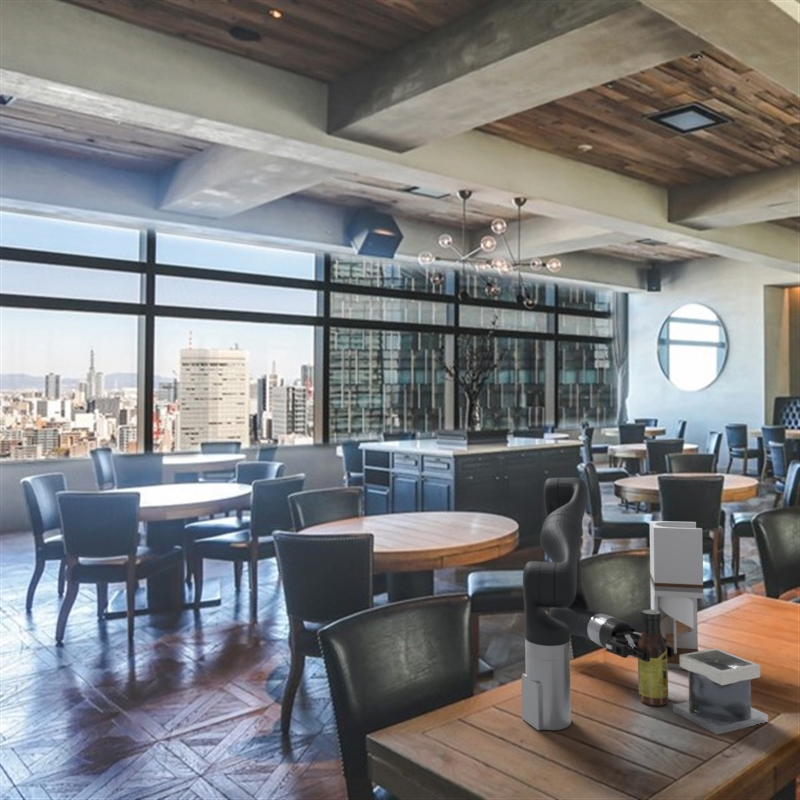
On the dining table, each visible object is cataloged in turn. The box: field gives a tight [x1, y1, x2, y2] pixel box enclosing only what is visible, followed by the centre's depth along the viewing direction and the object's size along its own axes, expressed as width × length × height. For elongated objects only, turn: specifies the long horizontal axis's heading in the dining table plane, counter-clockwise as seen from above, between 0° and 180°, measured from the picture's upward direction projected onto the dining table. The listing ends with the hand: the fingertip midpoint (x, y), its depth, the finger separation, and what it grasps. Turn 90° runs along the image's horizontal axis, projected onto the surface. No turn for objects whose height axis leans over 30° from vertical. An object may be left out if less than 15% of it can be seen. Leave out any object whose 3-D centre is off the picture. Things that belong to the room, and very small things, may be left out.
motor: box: [672, 647, 769, 736], centre depth 153 cm, size 14×12×12 cm
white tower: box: [649, 520, 704, 670], centre depth 186 cm, size 11×11×35 cm
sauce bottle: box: [637, 609, 669, 707], centre depth 161 cm, size 7×6×20 cm
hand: (660, 654), depth 159 cm, fingers closed on sauce bottle, 6 cm apart
